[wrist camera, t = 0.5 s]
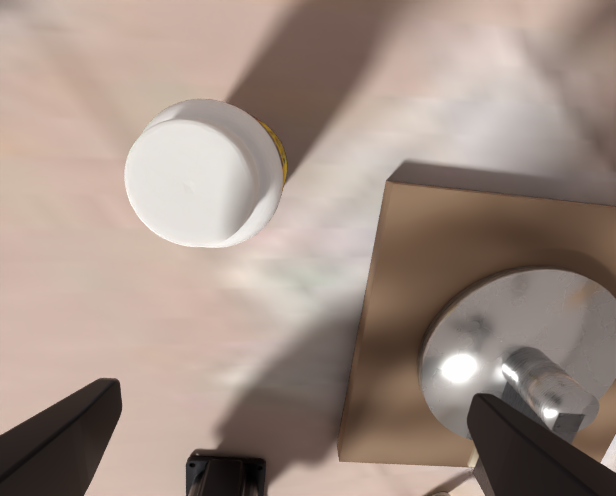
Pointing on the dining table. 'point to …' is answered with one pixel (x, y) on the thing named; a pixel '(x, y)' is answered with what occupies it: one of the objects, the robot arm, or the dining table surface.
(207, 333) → the dining table surface
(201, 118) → the supplement bottle
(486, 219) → the dial base
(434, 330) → the dial
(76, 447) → the robot arm
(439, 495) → the sunglasses
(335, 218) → the dining table surface
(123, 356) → the dining table surface
